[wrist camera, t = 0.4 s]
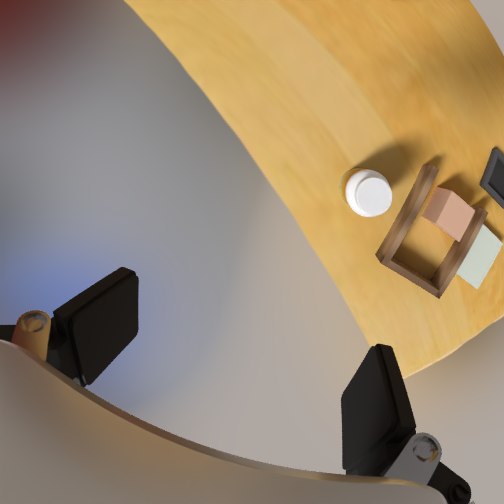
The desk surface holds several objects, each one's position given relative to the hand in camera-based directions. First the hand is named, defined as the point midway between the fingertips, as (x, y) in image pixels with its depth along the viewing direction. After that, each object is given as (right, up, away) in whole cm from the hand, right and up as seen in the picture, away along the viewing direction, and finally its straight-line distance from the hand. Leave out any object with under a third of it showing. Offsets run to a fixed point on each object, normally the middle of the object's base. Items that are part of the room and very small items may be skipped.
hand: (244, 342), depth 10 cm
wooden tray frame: (+26, +6, +24) cm, 36 cm away
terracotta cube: (+28, +9, +22) cm, 37 cm away
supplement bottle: (+15, +12, +25) cm, 31 cm away
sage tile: (+36, +3, +23) cm, 43 cm away
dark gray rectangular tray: (+39, +15, +18) cm, 46 cm away
